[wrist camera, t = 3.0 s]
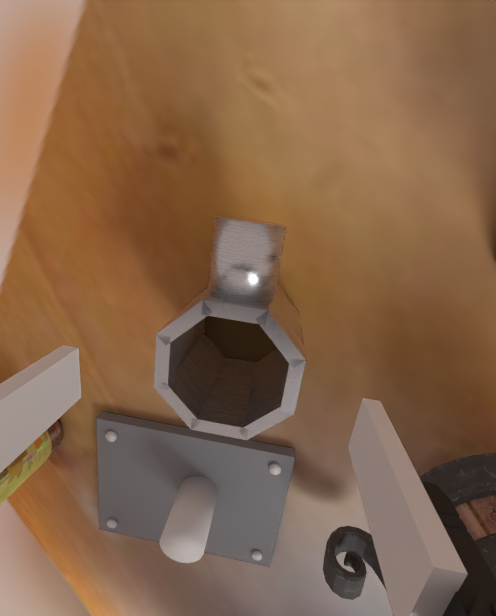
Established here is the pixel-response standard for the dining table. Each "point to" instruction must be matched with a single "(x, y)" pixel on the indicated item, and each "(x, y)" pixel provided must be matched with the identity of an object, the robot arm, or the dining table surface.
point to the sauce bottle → (29, 460)
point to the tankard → (467, 501)
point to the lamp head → (242, 307)
